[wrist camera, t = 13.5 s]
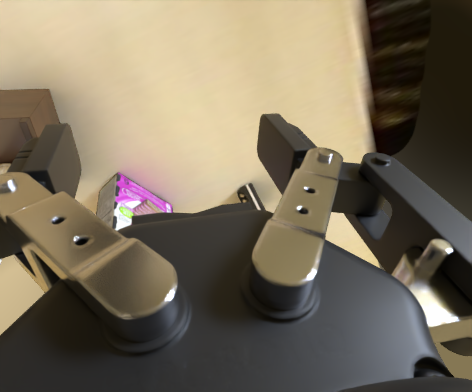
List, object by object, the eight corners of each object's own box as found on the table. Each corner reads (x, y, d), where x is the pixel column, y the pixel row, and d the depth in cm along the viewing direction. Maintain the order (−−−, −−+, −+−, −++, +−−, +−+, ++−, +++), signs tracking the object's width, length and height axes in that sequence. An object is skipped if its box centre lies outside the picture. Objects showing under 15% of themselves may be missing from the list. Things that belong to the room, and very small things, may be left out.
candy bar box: (174, 203, 53) (186, 279, 40) (155, 221, 54) (161, 300, 41) (117, 169, 46) (111, 246, 33) (97, 190, 47) (84, 272, 35)
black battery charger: (230, 189, 54) (249, 233, 45) (250, 180, 54) (272, 222, 45) (243, 214, 58) (263, 259, 50) (261, 206, 58) (284, 249, 50)
